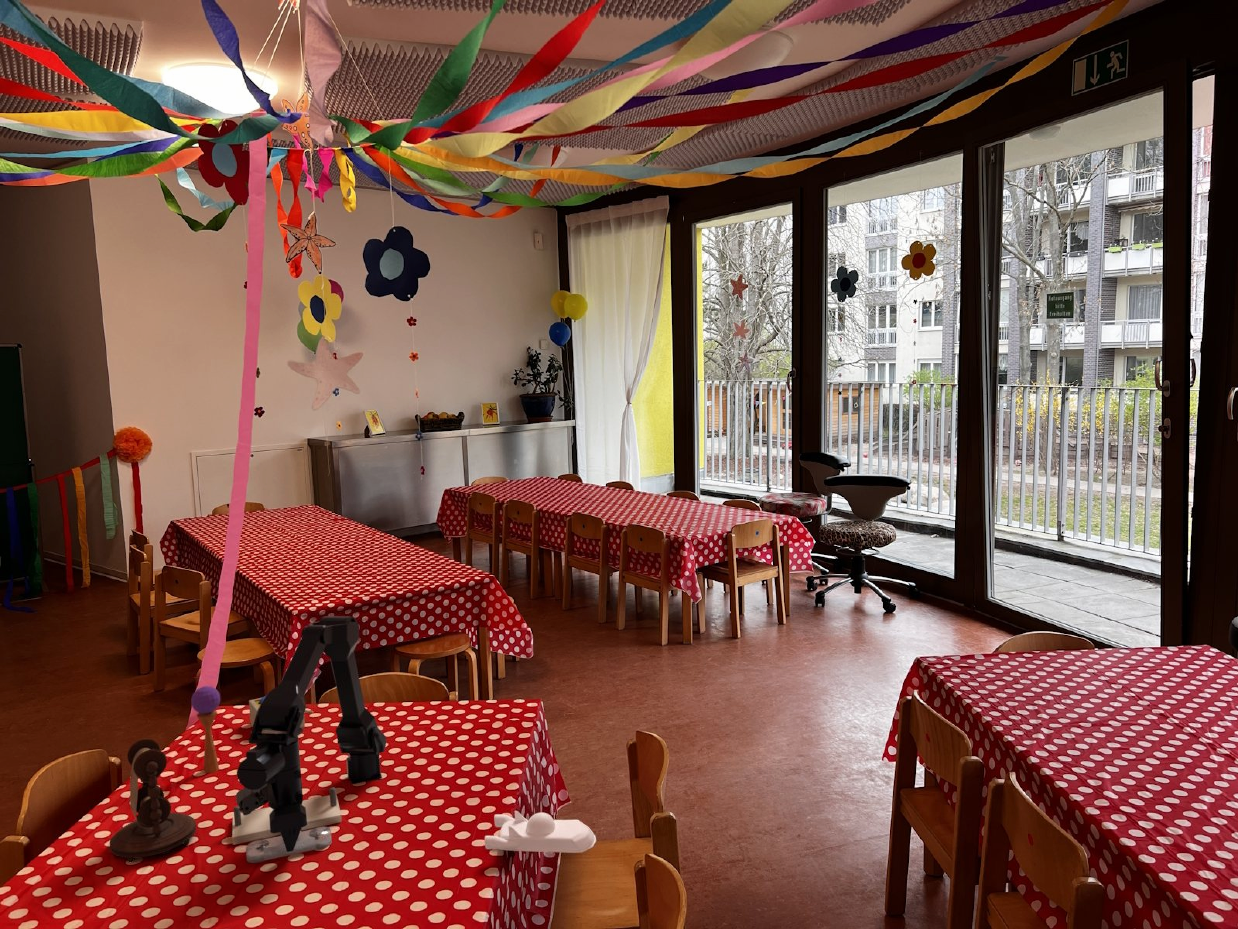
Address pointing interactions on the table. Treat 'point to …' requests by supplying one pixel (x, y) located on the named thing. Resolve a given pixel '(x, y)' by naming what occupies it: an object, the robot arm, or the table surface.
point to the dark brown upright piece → (150, 809)
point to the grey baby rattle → (277, 848)
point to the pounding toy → (254, 708)
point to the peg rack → (259, 828)
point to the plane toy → (540, 834)
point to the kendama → (207, 722)
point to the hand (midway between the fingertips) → (289, 845)
